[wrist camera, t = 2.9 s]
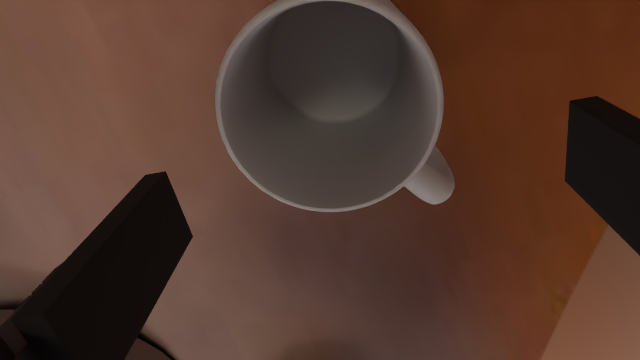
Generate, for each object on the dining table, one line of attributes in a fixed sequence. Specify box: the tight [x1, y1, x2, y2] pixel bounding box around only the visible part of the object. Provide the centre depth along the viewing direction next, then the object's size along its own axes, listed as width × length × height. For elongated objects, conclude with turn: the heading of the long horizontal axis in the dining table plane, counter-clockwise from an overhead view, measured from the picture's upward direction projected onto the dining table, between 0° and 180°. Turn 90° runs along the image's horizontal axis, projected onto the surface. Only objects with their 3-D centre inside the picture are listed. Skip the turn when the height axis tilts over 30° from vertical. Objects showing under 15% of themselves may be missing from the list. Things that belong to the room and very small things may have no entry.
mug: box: [215, 0, 455, 212], centre depth 21 cm, size 12×8×11 cm
